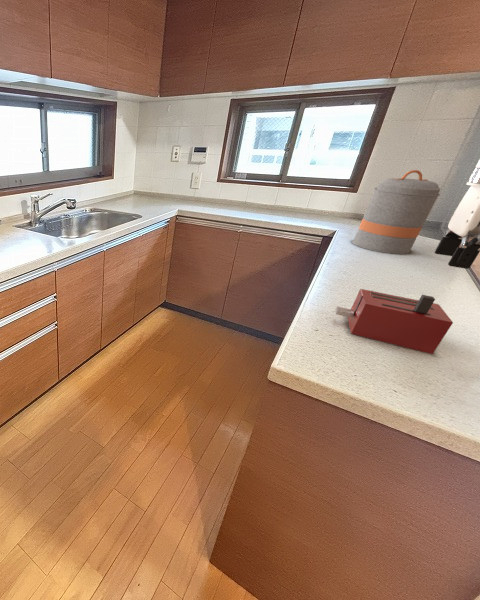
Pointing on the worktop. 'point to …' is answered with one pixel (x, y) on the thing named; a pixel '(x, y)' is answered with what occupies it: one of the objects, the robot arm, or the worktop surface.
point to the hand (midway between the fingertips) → (450, 260)
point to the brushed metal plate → (344, 312)
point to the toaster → (398, 321)
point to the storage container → (396, 214)
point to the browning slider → (424, 304)
